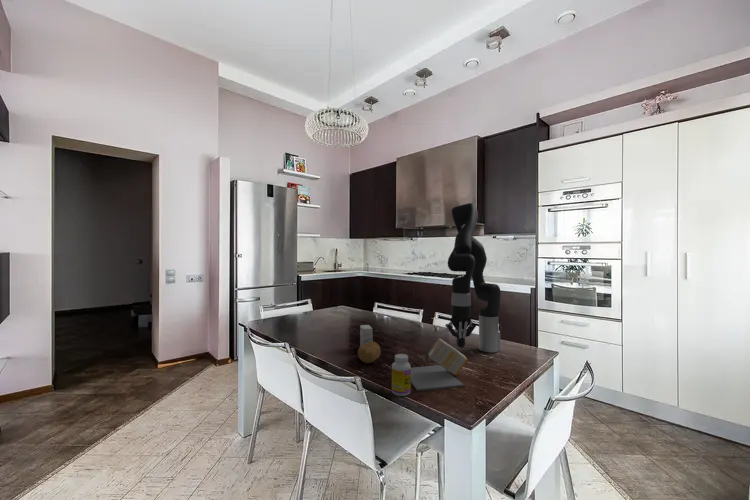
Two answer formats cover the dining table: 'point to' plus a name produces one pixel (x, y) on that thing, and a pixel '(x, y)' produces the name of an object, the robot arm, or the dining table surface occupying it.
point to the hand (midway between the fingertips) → (460, 347)
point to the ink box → (365, 334)
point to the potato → (369, 352)
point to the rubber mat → (433, 378)
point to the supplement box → (447, 356)
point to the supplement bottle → (401, 376)
